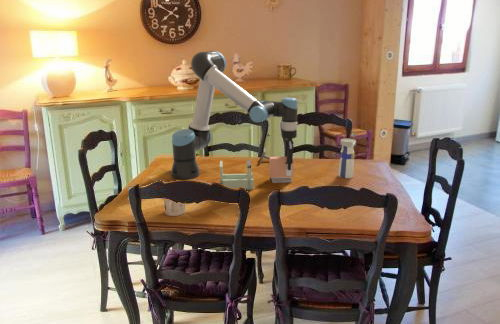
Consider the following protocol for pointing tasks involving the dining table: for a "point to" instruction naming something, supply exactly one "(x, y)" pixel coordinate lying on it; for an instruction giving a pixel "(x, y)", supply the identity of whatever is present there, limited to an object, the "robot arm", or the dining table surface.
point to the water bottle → (347, 157)
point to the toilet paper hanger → (264, 156)
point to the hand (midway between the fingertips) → (288, 174)
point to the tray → (281, 180)
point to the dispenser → (237, 178)
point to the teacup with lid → (174, 208)
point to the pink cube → (279, 167)
